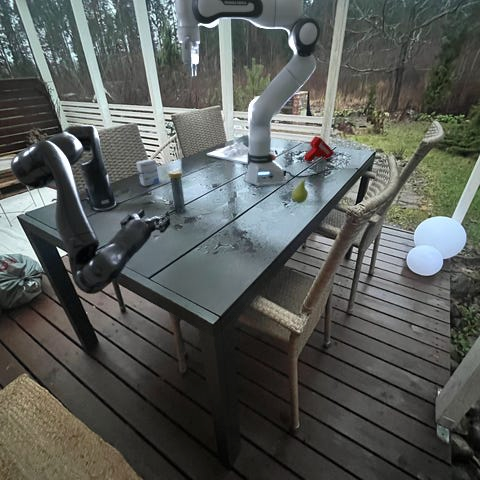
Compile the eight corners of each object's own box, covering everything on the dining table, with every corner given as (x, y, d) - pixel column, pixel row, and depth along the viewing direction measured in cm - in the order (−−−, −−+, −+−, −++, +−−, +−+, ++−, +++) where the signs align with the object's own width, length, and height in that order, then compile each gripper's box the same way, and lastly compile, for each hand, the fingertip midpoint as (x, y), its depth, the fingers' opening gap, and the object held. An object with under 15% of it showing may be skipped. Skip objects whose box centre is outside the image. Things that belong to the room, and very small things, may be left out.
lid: (167, 174, 107) (166, 171, 106) (180, 173, 109) (179, 169, 108) (170, 179, 103) (169, 175, 102) (183, 177, 105) (183, 173, 104)
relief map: (248, 164, 168) (248, 156, 165) (206, 155, 186) (206, 147, 183) (271, 154, 186) (271, 146, 183) (231, 147, 204) (231, 140, 201)
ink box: (155, 180, 146) (151, 158, 140) (159, 182, 143) (156, 160, 136) (140, 184, 141) (135, 161, 134) (145, 186, 138) (140, 163, 131)
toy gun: (305, 158, 165) (319, 136, 162) (300, 157, 168) (315, 135, 166) (320, 172, 177) (334, 152, 174) (316, 170, 180) (329, 151, 177)
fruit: (288, 200, 123) (290, 174, 116) (302, 197, 125) (305, 172, 119) (296, 206, 118) (299, 179, 111) (310, 203, 120) (314, 177, 114)
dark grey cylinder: (174, 210, 115) (168, 172, 106) (184, 208, 117) (179, 170, 108) (176, 214, 112) (170, 175, 103) (186, 212, 113) (181, 173, 104)
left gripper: (152, 228, 74) (174, 203, 88) (105, 224, 76) (133, 201, 90) (157, 250, 78) (177, 224, 92) (112, 246, 80) (137, 221, 94)
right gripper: (192, 34, 104) (196, 76, 111) (199, 39, 121) (202, 75, 128) (176, 34, 104) (180, 76, 111) (185, 39, 121) (189, 75, 128)
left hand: (155, 212), depth 91 cm, fingers open, 8 cm apart
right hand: (192, 76), depth 120 cm, fingers open, 8 cm apart
